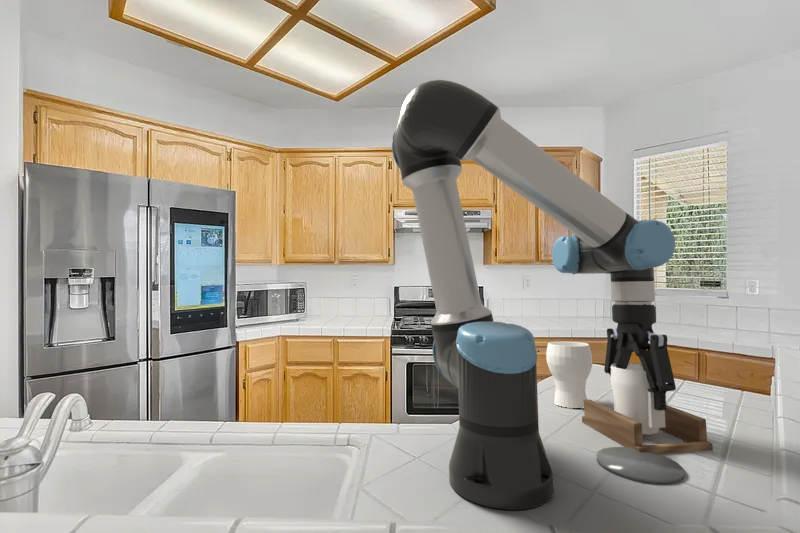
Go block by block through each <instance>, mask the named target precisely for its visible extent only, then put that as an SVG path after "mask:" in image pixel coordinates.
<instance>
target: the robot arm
mask: <svg viewBox="0 0 800 533" xmlns="http://www.w3.org/2000/svg"><path fill="white" fill-rule="evenodd" d="M501 114H502V113H501V109H500V107H498V106H497V105H496V104H494V103H493V102H491V101H490V100H489V99H487V97H485V96H483V95H481V94H480V93H478V92H477V91H475V90H473V89H472V88H469V87H468V86H465V85H463V84H461V83H457V82H454V81H451V80H445V79H436V80H435V79H433V80H429V81H426V82H423V83H420V84H419V85H417V86H415V87H414V89H412V90H411V91H410V92H409V93H408V94H407V96H406V97H405V100H404V101H403V104H402V106H401V110H400V114H399V118H398V121H397V126H396V127H395V129H394V131H393V135H392V140H391V152H392V155H393V160H394V162H395V164H396V167H398V169H399V171H400V175H401V176H400V177H401V179H402V184H403V185H404V186H405V187H406V188H408V189H409V190H411V191H412V195H413V201H414V205H415V210H416V214H417V220H418V221H417V222H418V225H419V229H420V235H421V239H422V246H423V250H424V255H425V261H426V265H427V269H428V276H429V280H430V285H431V290H432V294H433V300H434V304H435V310H436V312H435V315H434V316H433V318H432V319H431V321H430V325H431V331H432V337H433V343H432V359H433V363H434V364H435V367H436V369H437V371H438V372H439V373H440V374H441V376H442V377H443V378H444V379H445V380H446V381H448V382H450V384H452V385H453V386H454V387H456V388H457V389H458V416H459V420H458V421H459V424H458V425H459V427H458V431H457V435H456V438H455V441H454V446H453V449H452V452H451V455H450V459H449V464H448V474H449V475H448V476H449V477H448V480H449V481H448V482H449V483H450V486H451V487H452V489H453V491H455V492H456V493H457V494H458V495H459V496H461V497H462V498H464V499H466V500H469V501H470V502H472V503H475V504H477V505H480V506H484V507H489V508H492V509H493V508H494V509H500V510H510V511H511V510H512V511H513V510H516V511H517V510H526V509H531V508H536V507H539V506H541V505H544V504H546V503H548V502H549V501H550V500H551V498H553V495H554V492H555V484H554V483H555V478H554V472H553V469H552V466H551V463H550V460H549V458H548V454H547V451H546V449H545V446H544V443H543V441H542V438H541V435H540V429H539V428H540V427H539V401H538V400H539V399H538V373H537V372H538V369H537V368H538V367H537V363H538V352H537V350H536V349H537V348H536V342H535V337H534V335H533V333H532V332H531V330H529V329H528V328H526V327H523V326H522V325H519V324H514V323H506V322H502V321H494V318H493V313H492V310H491V309H490V308H488V307H486V306H485V305H484V304H483V303H482V300H481V295H480V290H479V285H478V279H477V274H476V270H475V266H474V262H473V261H474V260H473V257H472V256H473V255H472V252H471V251H472V250H471V246H470V242H469V236H468V232H467V228H466V222H465V218H464V212H463V209H462V203H461V198H460V193H459V187H458V183H457V181H458V178H459V177H460V175H461V174H462V172H463V167H462V161H469V160H471V161H473V162H474V163H476V164H477V165H478V166H480V167H481V168H482V169H484V170H485V171H487V172H488V173H489V174H491V175H492V176H494V177H495V178H496V179H498V180H499V181H501V183H503V184H504V185H506V186H507V187H509V188H510V190H511V189H512V190H513V191H514V192H516V193H517V194H518V195H520V196H521V197H523V198H524V199H525V200H526V201H528V202H529V203H531V204H532V205H533V206H535V207H536V208H538V209H539V210H540V211H542V212H543V213H544V214H546V215H547V216H548V217H550V218H551V219H552V220H554V221H555V222H556V223H557V224H559V225H561V226H562V227H563V228H565V229H566V230H567V231H569V232H571V233H572V235H561V236H560V237H558V238H557V239H556V240H555V242H554V244H553V246H552V253H551V256H552V257H551V258H552V259H551V260H552V264H553V266H554V267H555V270H557V271H558V272H559V273H562V274H572V275H576V274H577V275H578V274H582V275H583V274H584V275H585V274H586V275H587V274H591V275H593V274H607V275H608V274H609V275H610V296H611V298H610V301H612V302H614V304H612V306H611V313H612V314H611V316H612V317H611V318H612V322H613V323H616V324H617V327H615V328H611V327H610V328H607V329H606V336H607V342H606V350H605V351H606V352H605V360H604V369H603V370H604V373H605V374H609V377H610V378H611V364H613V363H616V368H621V369H626V368H627V366H628V363H630V360H631V357H632V353H634V354H635V356H637V357H638V359H639V361H640V364H642V367H643V369H644V371H646V377H647V380H648V383H649V385H650V389H647V390H648V391H647V397H648V419H649V427H651V428H662V427H665V410H666V405H667V397H666V396H667V395H666V394H667V393H668V392H672V391H673V392H674V391H676V390H677V387H676V382H675V378H674V373H673V369H672V364H671V360H670V356H669V350H668V335H666V334H657V333H655V332H654V329H653V325H654V324H656V323H657V307H656V306H655V304H652V303H654V302H655V301H656V293H655V292H656V291H655V290H656V289H655V268H657V267H660V266H663V265H665V264H666V263H668V262H669V261H670V260H671V258H672V256H673V254H674V253H675V249H676V240H675V235H674V233H673V231H672V230H671V228H670V227H669V226H668V225H667V224H666V223H664V222H663V221H660V220H655V219H643V220H637V219H636V218H634V216H632V215H630V214H629V213H627V212H626V211H625V210H624V209H622V208H621V207H619V206H618V205H617V204H616V203H614V202H613V201H612V200H611V199H609V198H608V197H606V196H604V195H603V194H602V193H601V192H600V191H598V190H597V189H596V188H594V187H593V186H592V185H590V184H589V183H588V182H586V181H585V180H584V179H582V178H581V177H580V176H578V175H577V174H576V173H574V172H573V171H571V170H570V169H569V168H568V167H566V166H565V165H564V164H562V163H561V162H560V161H558V160H557V159H556V158H554V157H553V156H552V155H550V154H549V153H548V152H546V151H545V150H544V149H543V148H541V147H540V146H538V145H537V144H536V143H535V142H533V141H531V140H530V138H528V137H526V136H525V135H524V134H523V133H521V132H519V131H518V130H517V129H516V128H515V127H513V126H512V125H511V124H509V123H508V122H507V121H506V120H504V119H503V118H502V115H501ZM656 383H657V384H658V385H656ZM613 410H614V411H616V406H615V401H614V400H613Z"/></svg>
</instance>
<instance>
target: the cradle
mask: <svg viewBox="0 0 800 533" xmlns="http://www.w3.org/2000/svg"><path fill="white" fill-rule="evenodd" d="M583 412H584V413H583V414H584V415H583V416H581V422H582V423H583V424H584V425H586V426H588V427H590V428H591V429H593V430H595V431H597V432H599V433H600V434H602V435H603V436H606V438H609V439H611V440H612V441H614V442H616V443H617V444H619V445H621V447H629V448H634V449H635V450H637V451H639V452H643V451H651V452H654V453H657V454H660V455H664V454H665V455H666V454H677V453H680V454H681V453H691V452H707V451H714V445H713V442H711V441H708V432H707V429H708V428H707V419H705V418H703V417H701V416H699V415H695V414H693V413H690V412H688V411H684V410H681V409H679V408H676V407H673V406H671V405H669V404H666V410H665V427H662V428H659V431H661V432H663V433H665V434H668V435H670V436H673V437H674V438H677V439H679V440H681V441H683V442H674V443H660V444H659V443H657V444H643V442H644V441H643V434H642V423H640V422H638V421H636V420H634V419H631V418H629V417H627V416H625V415H623V414H621V413H618V412H616V411H614V409H612V408H610V407H607V406H605V405H604V404H600V403H598V402H596V401H594V400H593V399H587V400H584V408H583Z"/></svg>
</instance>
